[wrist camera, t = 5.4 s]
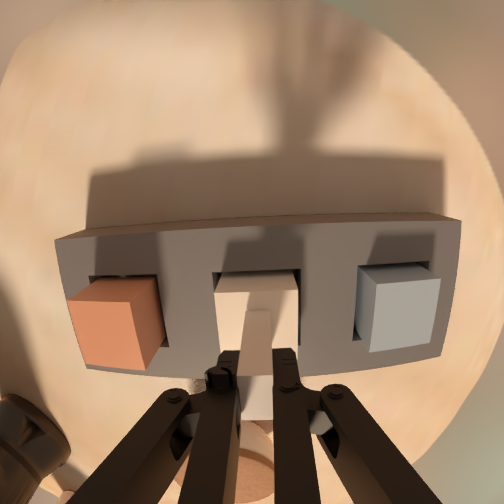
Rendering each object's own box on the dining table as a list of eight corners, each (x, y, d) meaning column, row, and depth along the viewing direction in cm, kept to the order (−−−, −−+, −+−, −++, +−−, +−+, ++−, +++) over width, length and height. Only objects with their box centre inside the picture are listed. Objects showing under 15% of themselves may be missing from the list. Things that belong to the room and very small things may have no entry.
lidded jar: (192, 388, 29) (172, 454, 20) (290, 409, 29) (297, 477, 20) (180, 444, 31) (164, 501, 22) (262, 462, 32) (261, 520, 22)
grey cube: (350, 321, 23) (369, 352, 19) (354, 262, 22) (376, 284, 17) (403, 315, 23) (429, 342, 18) (410, 259, 22) (441, 278, 17)
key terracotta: (112, 333, 23) (85, 363, 18) (100, 277, 22) (66, 300, 17) (166, 335, 23) (145, 370, 18) (155, 276, 22) (129, 302, 17)
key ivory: (229, 327, 24) (221, 362, 19) (223, 269, 23) (214, 293, 18) (291, 325, 24) (297, 359, 19) (290, 266, 22) (298, 289, 18)
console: (108, 343, 28) (86, 368, 23) (85, 229, 25) (54, 240, 20) (418, 331, 26) (440, 356, 22) (430, 212, 24) (461, 220, 19)
